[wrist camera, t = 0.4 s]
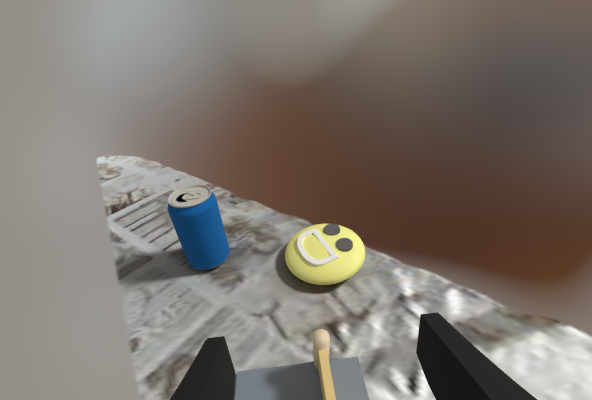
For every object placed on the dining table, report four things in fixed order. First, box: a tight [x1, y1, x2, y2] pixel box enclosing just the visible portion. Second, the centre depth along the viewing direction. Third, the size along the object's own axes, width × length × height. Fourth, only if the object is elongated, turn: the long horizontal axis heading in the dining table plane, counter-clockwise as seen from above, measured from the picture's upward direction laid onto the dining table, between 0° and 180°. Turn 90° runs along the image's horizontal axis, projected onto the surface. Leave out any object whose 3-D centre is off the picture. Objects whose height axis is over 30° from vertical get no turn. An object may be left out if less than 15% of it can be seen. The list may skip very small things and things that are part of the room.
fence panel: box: [313, 329, 336, 400], centre depth 24 cm, size 9×2×5 cm, turn 5°
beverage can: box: [168, 185, 229, 270], centre depth 41 cm, size 6×6×12 cm
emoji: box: [285, 224, 365, 285], centre depth 41 cm, size 4×12×12 cm
